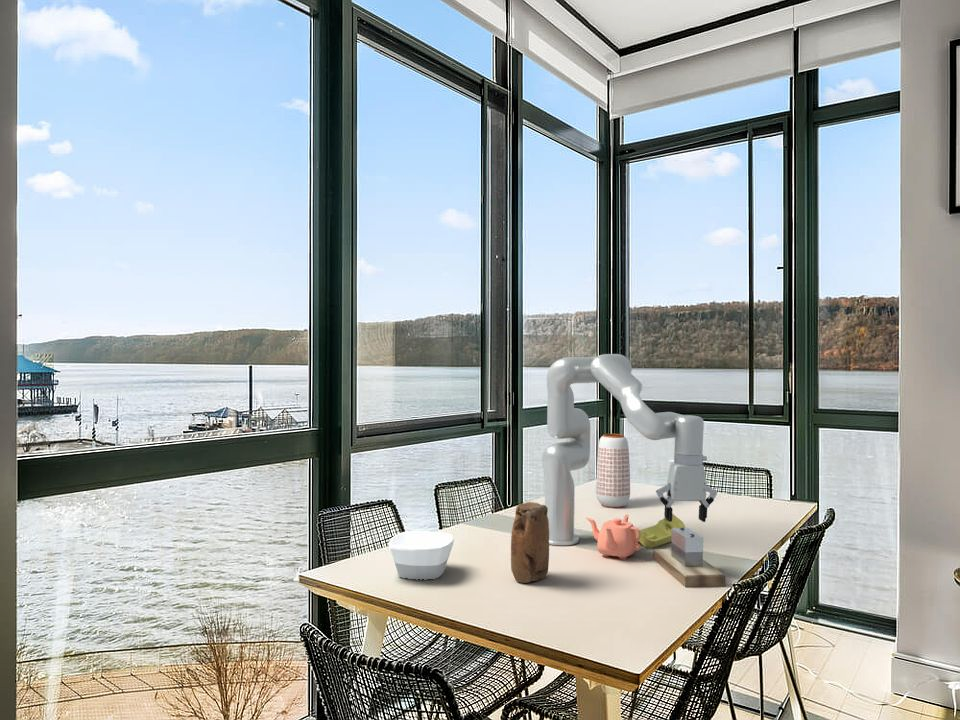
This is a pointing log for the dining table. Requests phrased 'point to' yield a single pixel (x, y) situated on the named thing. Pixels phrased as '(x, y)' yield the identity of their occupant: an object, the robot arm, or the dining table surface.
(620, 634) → the dining table surface
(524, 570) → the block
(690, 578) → the walnut stand
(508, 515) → the dining table surface
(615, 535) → the teapot
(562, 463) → the robot arm
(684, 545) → the housing
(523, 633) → the dining table surface
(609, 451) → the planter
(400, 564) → the bowl
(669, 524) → the plastic component
